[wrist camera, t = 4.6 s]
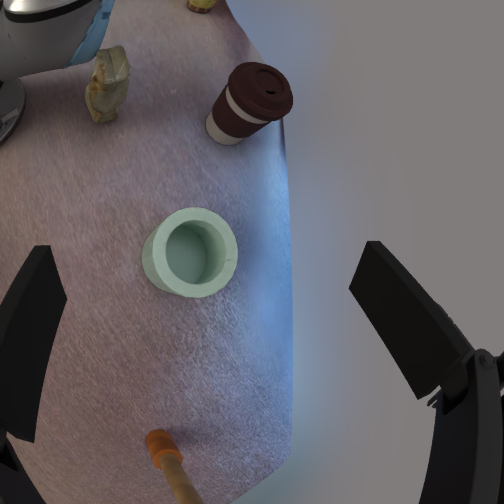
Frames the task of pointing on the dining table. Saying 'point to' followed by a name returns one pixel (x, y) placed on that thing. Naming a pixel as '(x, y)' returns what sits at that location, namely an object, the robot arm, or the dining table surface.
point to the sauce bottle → (200, 5)
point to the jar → (190, 253)
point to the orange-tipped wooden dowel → (172, 466)
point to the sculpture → (108, 84)
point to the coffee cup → (249, 103)
